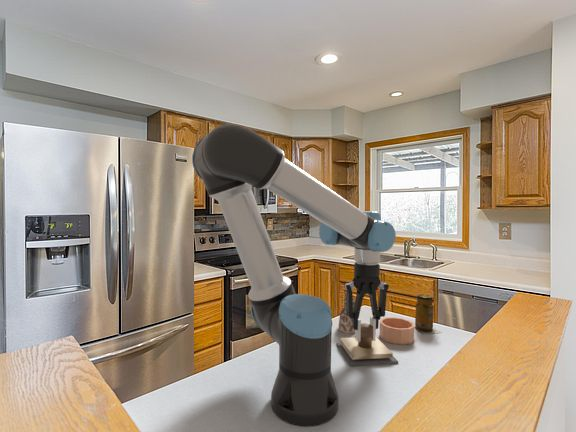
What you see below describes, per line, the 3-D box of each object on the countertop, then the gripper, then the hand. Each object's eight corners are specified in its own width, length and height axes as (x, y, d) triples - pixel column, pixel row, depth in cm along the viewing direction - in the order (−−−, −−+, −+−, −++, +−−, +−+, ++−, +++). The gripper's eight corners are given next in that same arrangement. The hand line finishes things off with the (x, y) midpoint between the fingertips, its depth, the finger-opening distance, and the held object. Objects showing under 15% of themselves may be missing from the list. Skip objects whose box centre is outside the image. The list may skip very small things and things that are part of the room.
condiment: (426, 324, 123) (427, 293, 122) (441, 332, 114) (442, 299, 114) (409, 325, 121) (410, 294, 121) (423, 334, 113) (424, 300, 112)
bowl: (388, 345, 104) (388, 330, 103) (374, 331, 114) (374, 318, 114) (420, 343, 105) (420, 328, 105) (403, 330, 116) (404, 316, 116)
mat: (350, 366, 90) (350, 364, 90) (336, 344, 104) (336, 342, 104) (398, 363, 92) (398, 361, 92) (377, 342, 106) (377, 340, 106)
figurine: (338, 332, 114) (338, 298, 113) (338, 325, 121) (338, 293, 120) (359, 333, 113) (359, 299, 112) (357, 326, 120) (358, 294, 119)
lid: (352, 359, 91) (352, 334, 91) (339, 341, 103) (340, 319, 103) (392, 357, 93) (393, 332, 92) (375, 340, 104) (376, 318, 104)
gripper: (388, 260, 102) (386, 333, 102) (335, 260, 99) (334, 335, 100) (399, 264, 94) (397, 343, 95) (343, 265, 92) (341, 346, 93)
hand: (365, 339), depth 98 cm, fingers closed on lid, 4 cm apart
